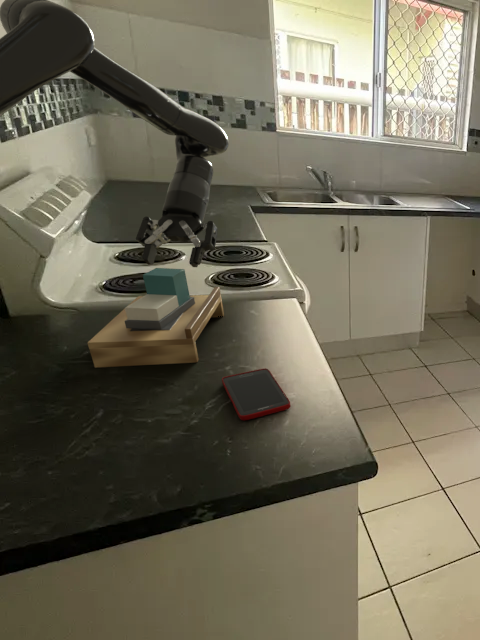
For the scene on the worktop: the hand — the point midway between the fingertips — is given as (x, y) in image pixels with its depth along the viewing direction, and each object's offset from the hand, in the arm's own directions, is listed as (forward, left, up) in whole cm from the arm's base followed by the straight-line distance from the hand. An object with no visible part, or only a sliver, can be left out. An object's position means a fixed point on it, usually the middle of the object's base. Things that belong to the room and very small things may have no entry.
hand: (170, 264), depth 98 cm
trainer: (-1, -7, -9) cm, 11 cm away
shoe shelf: (-1, -7, -14) cm, 15 cm away
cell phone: (+19, -33, -14) cm, 40 cm away
